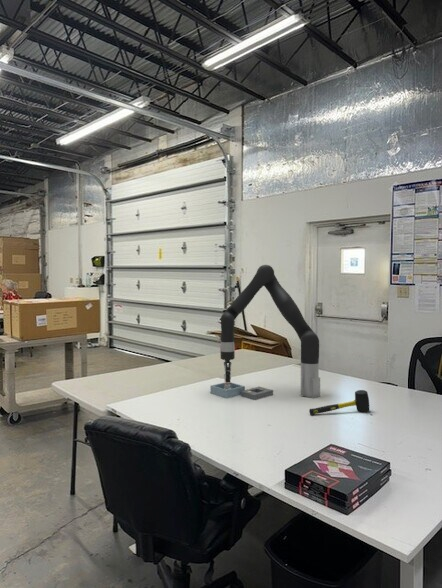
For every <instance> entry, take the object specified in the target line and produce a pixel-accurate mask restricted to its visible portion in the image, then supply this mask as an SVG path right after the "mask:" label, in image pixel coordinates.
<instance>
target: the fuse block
mask: <svg viewBox="0 0 442 588" xmlns="http://www.w3.org/2000/svg"><path fill="white" fill-rule="evenodd" d="M273 395H274V390H273V389H270V388H268V387H267V388H266V387H263V386H256V387H251V388H249V389H245V390H243V391H241V395H240V396H241V397H242V398H243V397H244V398H246V399H250V400H253V401H257V400H259V399H263V397H264V398H266V397H271V396H273Z"/></svg>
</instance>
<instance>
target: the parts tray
mask: <svg viewBox="0 0 442 588" xmlns="http://www.w3.org/2000/svg"><path fill="white" fill-rule="evenodd" d="M224 387H225V384H224V382H220V383H217V384H211V385H210V391H209V392H210V394H213V395H215V396H218V397H221V398H224V399H229V398H233V397H236V396H241V391H243V390H246V386H245V385H242V384H238V383H235V382H231V389H228V390H226V389H224Z"/></svg>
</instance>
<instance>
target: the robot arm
mask: <svg viewBox="0 0 442 588" xmlns="http://www.w3.org/2000/svg"><path fill="white" fill-rule="evenodd" d="M256 270H257V271H256V273H255V274H254V276H253V277H252V279H251V281H250V282H249V283H248V284H247V286H246V287H245V288H244V289H243V290H242V291H241V292H240V293H239V294H238V296H236V298H235V299H234V301H233V302H232V303H231V304H230V306H228V308H227V309H226V310H225V311H224V312H223V313H222V315H221V317H220V359H221V360H223V369H224V372H225V373H224V374H225V375H226V382H230V375H231V376H232V374H231V371H232V360H234V359H235V358H236V357H235V356H236V355H235V354H236V353H235V333H234V329H235V328H234V327H235V320H236V319H237V318H238V316H239V315H240V314H242V312H243V311H244V310H245V309H246V308H247V306H249V304H250V303H251V301H252V300H253V299H254V298H255V296H256V295H257V293H258V292H259V291H260V290H261V289H262V288H263V287H264V288H265V289H266V290H267V292H268V293H269V294H270V297H271V299H272V301H273V302H274V305H275V307H277V310H278V311H279V313H280V315H282V317H283V318H284V319H285V321H286V322H287V323H288V324H289V325H290V326H291V327H292V328H293V330H294V331H295V333H296V335H297V337H298V338H299V340H300V396H302V397H304V398H313V399H314V398H317V397H320V396H321V377H320V376H319V375H320V373H319V372H320V371H319V368H320V367H319V366H320V365H319V364H320V363H319V362H320V361H319V360H320V359H319V358H320V339H319V336H318V335H317V333H316V332H315V331H314V330H313V329H312V328H311V327H310V325H309V324H308V322H306V320H305V318H304V316H303V314H302V312H301V310H300V309H299V307H298V304H297V303H296V302H295V301H294V300H293V297H292V296H291V295H290V294H289V293H288V292H287V290H286V289H285V288H284V287H283V286H282V285H281V284H280V281H278V279H277V277H276V275H275V270H274V268H273V267H272V265H269V264H262V265H260V266H259V267H258V269H256Z"/></svg>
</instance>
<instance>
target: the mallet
mask: <svg viewBox="0 0 442 588" xmlns="http://www.w3.org/2000/svg"><path fill="white" fill-rule="evenodd" d="M368 393H369V392H368V391H367V390H365V389H358V390H356V391H355V392H354V400H352V401H348V402H343V403H336V404H330V405H324V406H319V407H316V408H309V415H310V416H313V415H317V414H322V413H323V414H325V413H328V412H332V411H336V410H339V409H345V408H348V407H353V406H355V407H356V410H357V412H359V413H363V414H365V413H368V412H370V399H369V394H368Z"/></svg>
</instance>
